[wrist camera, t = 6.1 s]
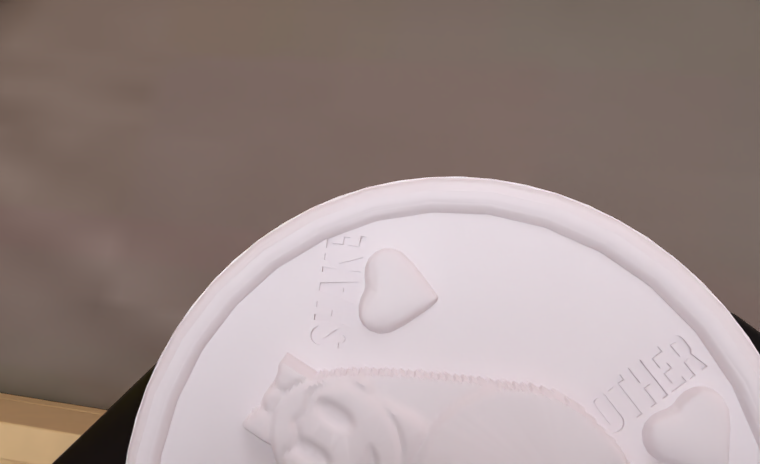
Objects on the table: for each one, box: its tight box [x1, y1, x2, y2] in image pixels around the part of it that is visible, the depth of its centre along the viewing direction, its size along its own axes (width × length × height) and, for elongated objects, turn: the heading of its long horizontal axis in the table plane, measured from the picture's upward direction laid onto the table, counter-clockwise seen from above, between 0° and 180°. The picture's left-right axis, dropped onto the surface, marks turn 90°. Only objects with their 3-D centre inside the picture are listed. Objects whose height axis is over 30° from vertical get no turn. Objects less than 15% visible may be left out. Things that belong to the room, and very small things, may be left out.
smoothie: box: [126, 177, 760, 464], centre depth 8 cm, size 6×6×14 cm
